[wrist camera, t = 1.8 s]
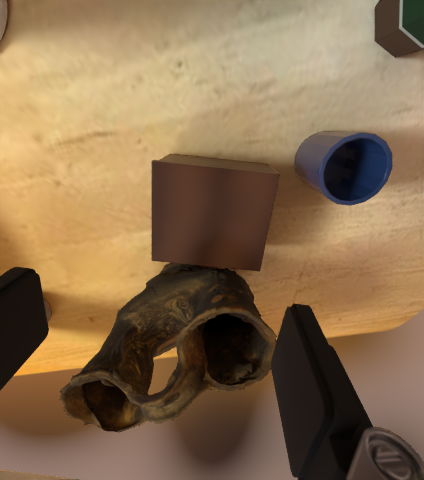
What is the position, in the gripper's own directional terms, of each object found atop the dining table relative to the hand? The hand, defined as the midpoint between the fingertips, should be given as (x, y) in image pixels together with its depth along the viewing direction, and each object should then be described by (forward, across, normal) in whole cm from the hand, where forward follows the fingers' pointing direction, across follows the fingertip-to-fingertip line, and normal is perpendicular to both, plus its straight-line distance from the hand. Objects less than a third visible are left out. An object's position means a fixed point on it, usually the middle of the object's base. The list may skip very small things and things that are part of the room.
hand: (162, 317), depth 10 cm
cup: (+27, -14, -5) cm, 31 cm away
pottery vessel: (+27, +2, +17) cm, 32 cm away
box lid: (+20, -1, +2) cm, 20 cm away
